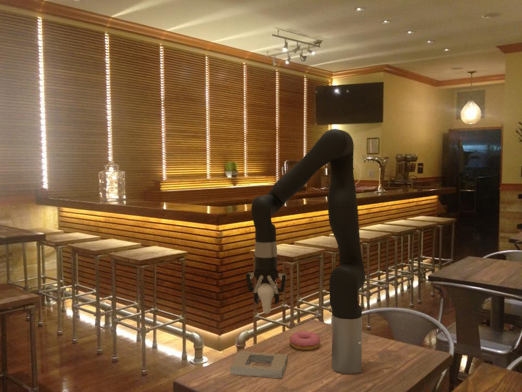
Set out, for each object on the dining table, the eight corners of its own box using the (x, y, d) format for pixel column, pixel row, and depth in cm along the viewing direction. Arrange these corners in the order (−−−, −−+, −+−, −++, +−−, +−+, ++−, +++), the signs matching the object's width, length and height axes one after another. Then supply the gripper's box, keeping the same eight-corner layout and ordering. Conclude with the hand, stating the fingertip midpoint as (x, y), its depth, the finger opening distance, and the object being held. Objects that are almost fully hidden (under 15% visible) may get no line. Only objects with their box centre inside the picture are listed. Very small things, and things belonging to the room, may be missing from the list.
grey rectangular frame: (287, 362, 155) (287, 354, 155) (281, 378, 144) (281, 370, 144) (239, 358, 159) (239, 351, 158) (230, 374, 147) (230, 366, 147)
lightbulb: (254, 315, 160) (253, 283, 160) (263, 310, 166) (262, 279, 165) (270, 317, 158) (270, 284, 157) (278, 312, 163) (278, 280, 162)
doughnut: (300, 354, 162) (300, 342, 162) (283, 343, 172) (283, 332, 171) (326, 348, 167) (326, 336, 167) (309, 338, 177) (309, 327, 176)
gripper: (288, 252, 163) (289, 301, 164) (247, 252, 165) (248, 299, 166) (285, 257, 155) (286, 307, 156) (242, 256, 158) (243, 306, 159)
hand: (266, 303), depth 161 cm, fingers closed on lightbulb, 6 cm apart
